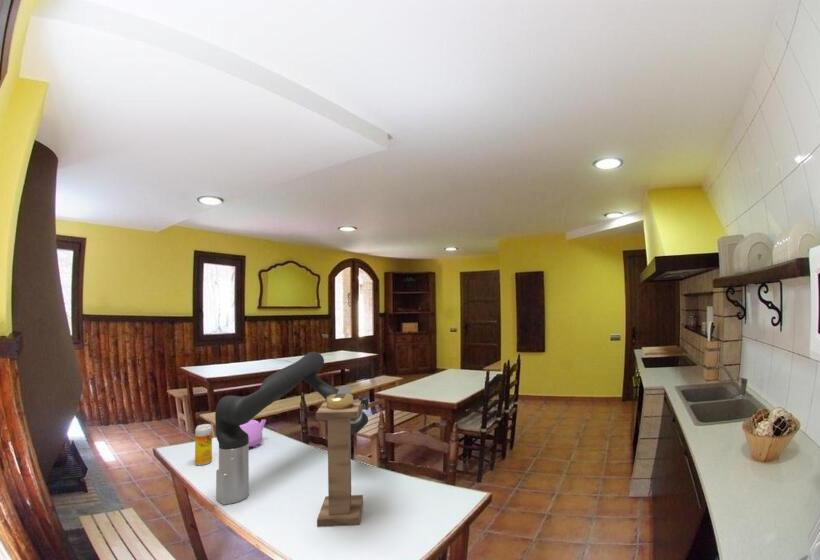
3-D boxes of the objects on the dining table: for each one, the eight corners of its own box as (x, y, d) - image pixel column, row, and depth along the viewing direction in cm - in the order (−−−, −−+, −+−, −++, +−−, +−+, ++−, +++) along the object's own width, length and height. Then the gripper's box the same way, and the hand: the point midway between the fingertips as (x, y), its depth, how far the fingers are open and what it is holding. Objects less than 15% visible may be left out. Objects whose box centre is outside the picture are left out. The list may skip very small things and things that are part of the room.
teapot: (230, 456, 172) (230, 426, 173) (217, 450, 180) (217, 421, 180) (272, 443, 187) (272, 415, 188) (258, 438, 195) (258, 411, 196)
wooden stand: (325, 502, 129) (324, 401, 131) (363, 501, 130) (361, 400, 132) (317, 526, 115) (315, 413, 117) (359, 524, 116) (357, 411, 118)
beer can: (204, 466, 162) (205, 428, 163) (191, 465, 163) (191, 427, 164) (215, 460, 168) (215, 423, 169) (202, 459, 169) (202, 423, 170)
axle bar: (335, 394, 141) (334, 385, 142) (357, 393, 142) (357, 385, 142) (324, 410, 121) (324, 399, 121) (351, 409, 121) (351, 399, 121)
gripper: (334, 402, 160) (328, 389, 147) (370, 401, 161) (367, 388, 147) (333, 422, 156) (327, 410, 143) (370, 420, 157) (367, 408, 143)
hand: (347, 398), depth 145 cm, fingers open, 8 cm apart
